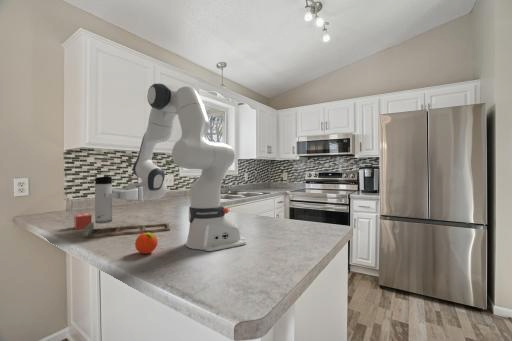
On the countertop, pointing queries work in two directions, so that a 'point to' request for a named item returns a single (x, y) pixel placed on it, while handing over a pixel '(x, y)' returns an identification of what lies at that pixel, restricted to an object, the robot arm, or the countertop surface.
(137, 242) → the clementine
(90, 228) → the wooden ladder frame
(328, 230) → the countertop surface
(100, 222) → the travel mug
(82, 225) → the red die
